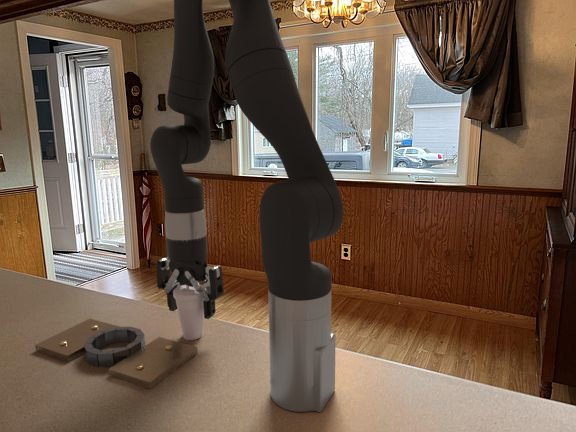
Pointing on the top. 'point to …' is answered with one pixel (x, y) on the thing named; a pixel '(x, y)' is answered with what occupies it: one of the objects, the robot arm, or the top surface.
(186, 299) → the smoothie
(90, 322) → the hinge base
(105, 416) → the top surface
